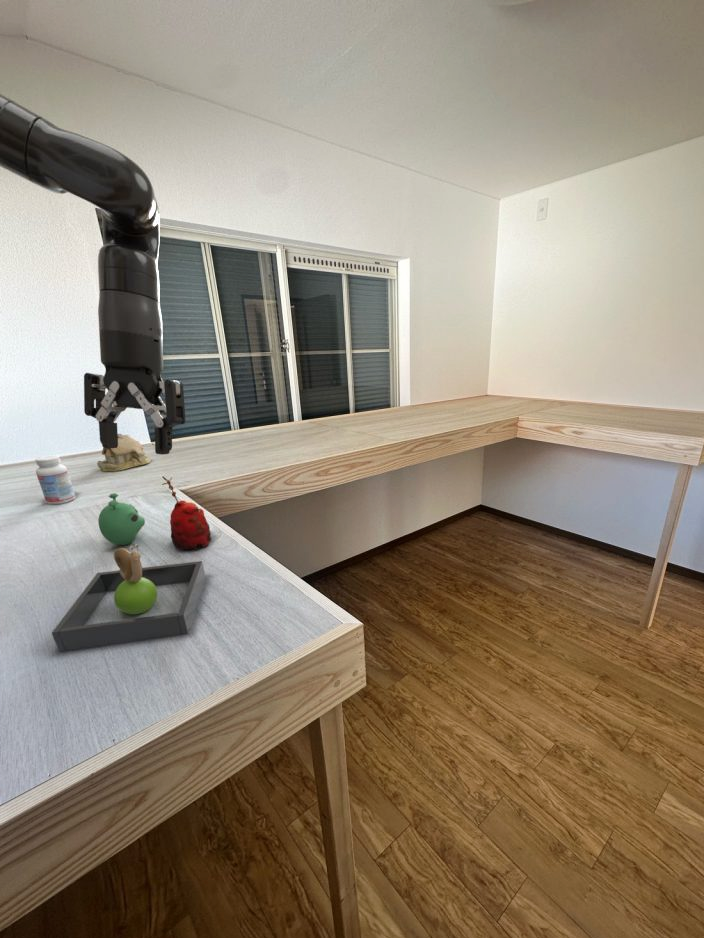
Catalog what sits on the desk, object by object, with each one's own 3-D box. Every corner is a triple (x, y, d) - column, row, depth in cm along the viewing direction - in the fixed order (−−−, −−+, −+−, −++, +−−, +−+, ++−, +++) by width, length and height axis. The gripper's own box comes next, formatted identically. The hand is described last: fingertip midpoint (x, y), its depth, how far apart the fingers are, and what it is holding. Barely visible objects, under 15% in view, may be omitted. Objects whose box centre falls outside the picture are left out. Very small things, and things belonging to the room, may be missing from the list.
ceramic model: (132, 458, 139) (124, 428, 135) (158, 460, 136) (150, 430, 132) (93, 470, 127) (83, 438, 123) (120, 473, 124) (111, 440, 120)
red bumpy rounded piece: (218, 544, 82) (204, 472, 76) (182, 557, 78) (164, 481, 71) (202, 532, 87) (188, 464, 81) (167, 544, 83) (150, 472, 76)
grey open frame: (61, 657, 54) (51, 632, 52) (104, 593, 67) (97, 572, 65) (189, 638, 57) (183, 614, 55) (206, 581, 70) (202, 560, 68)
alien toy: (150, 545, 82) (137, 498, 78) (104, 554, 79) (89, 506, 75) (148, 531, 88) (137, 487, 84) (106, 540, 84) (91, 494, 80)
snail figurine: (136, 629, 58) (113, 554, 53) (112, 614, 61) (88, 542, 56) (172, 608, 62) (153, 537, 58) (147, 596, 65) (128, 527, 61)
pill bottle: (40, 503, 103) (24, 460, 98) (65, 495, 108) (50, 453, 103) (58, 506, 101) (42, 462, 96) (82, 497, 106) (68, 455, 102)
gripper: (62, 324, 55) (71, 447, 58) (159, 330, 53) (163, 457, 56) (107, 336, 62) (113, 445, 65) (195, 342, 60) (196, 454, 63)
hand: (136, 451), depth 61 cm, fingers open, 8 cm apart
